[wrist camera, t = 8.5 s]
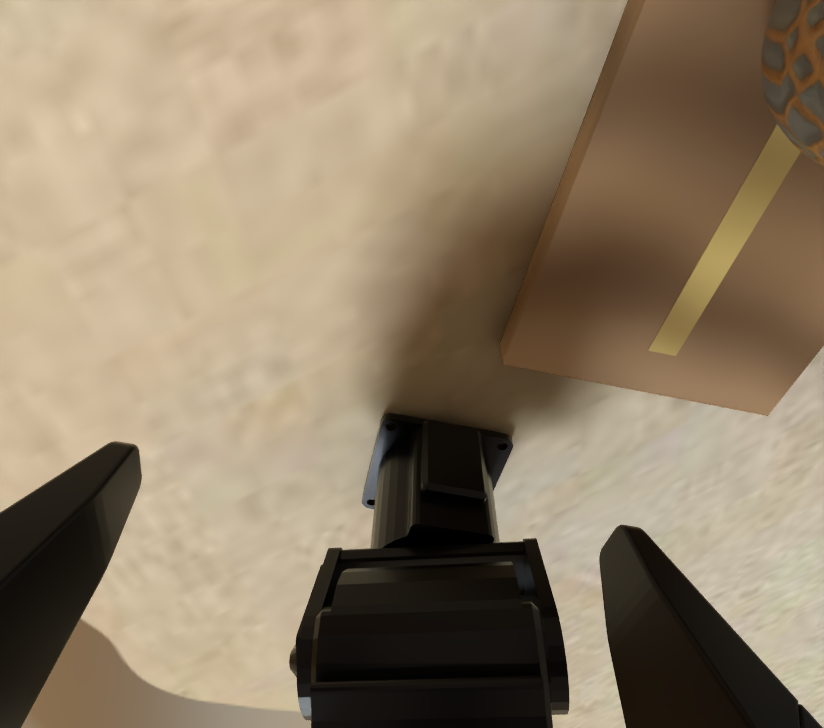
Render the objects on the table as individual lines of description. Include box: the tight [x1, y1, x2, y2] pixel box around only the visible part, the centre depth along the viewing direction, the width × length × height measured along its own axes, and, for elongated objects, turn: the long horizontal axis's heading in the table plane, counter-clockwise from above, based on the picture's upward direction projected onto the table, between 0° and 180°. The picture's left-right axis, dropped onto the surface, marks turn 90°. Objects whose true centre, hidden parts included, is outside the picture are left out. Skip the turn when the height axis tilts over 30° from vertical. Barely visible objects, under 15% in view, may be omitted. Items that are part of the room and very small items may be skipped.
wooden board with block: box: [500, 0, 824, 416], centre depth 16 cm, size 20×12×6 cm, turn 168°
